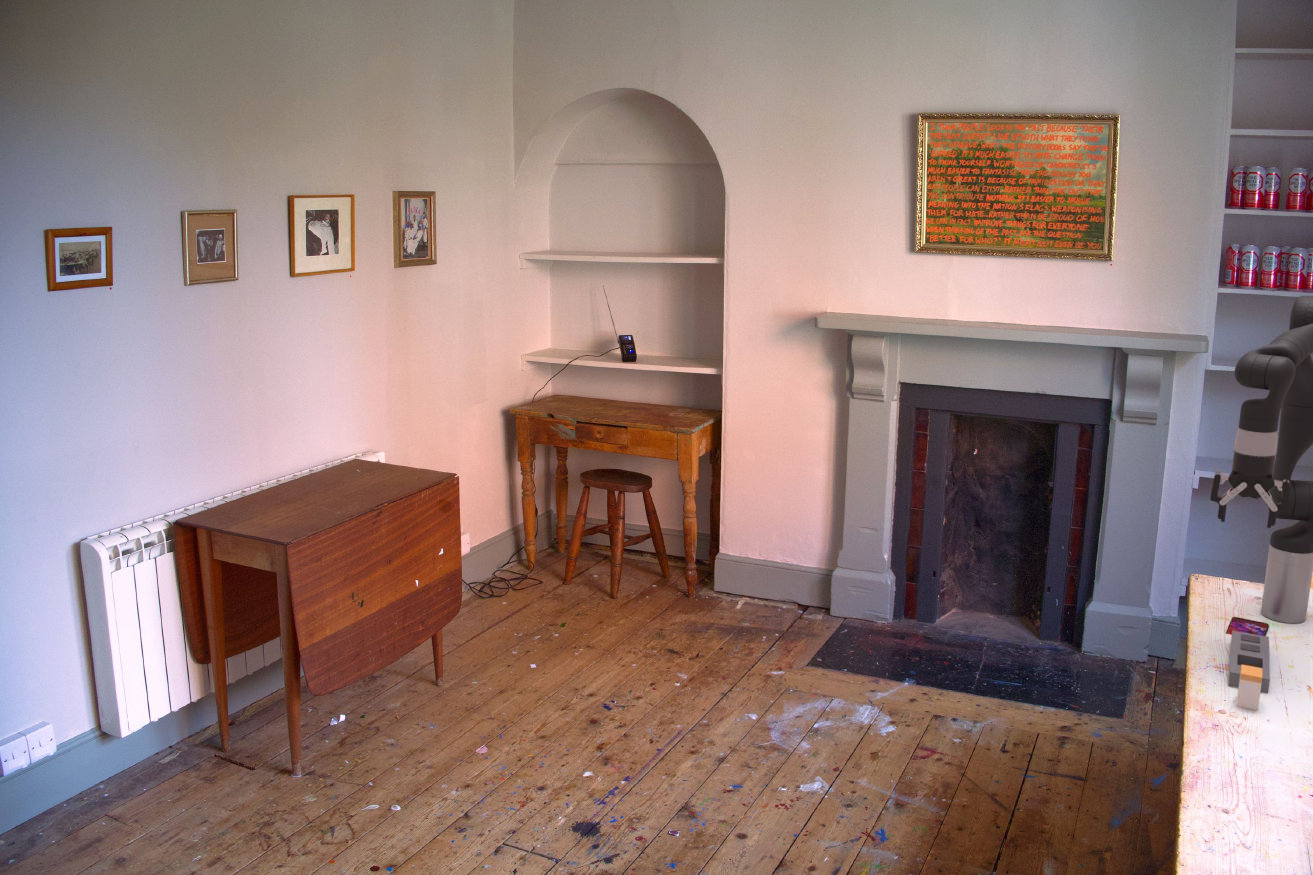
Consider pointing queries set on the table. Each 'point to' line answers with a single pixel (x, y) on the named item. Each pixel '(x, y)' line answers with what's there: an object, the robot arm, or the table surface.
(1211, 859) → the table surface
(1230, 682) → the power strip
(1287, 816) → the table surface
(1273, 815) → the table surface
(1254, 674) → the orange-topped block
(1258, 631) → the smartphone
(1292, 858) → the table surface
